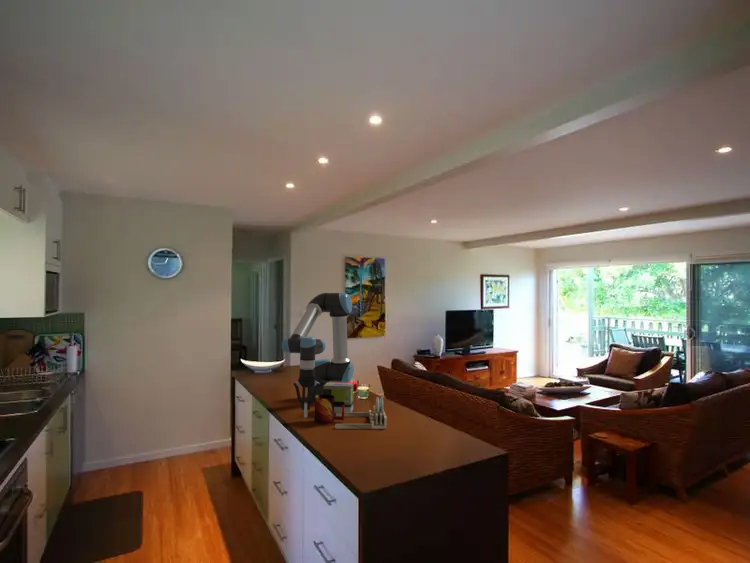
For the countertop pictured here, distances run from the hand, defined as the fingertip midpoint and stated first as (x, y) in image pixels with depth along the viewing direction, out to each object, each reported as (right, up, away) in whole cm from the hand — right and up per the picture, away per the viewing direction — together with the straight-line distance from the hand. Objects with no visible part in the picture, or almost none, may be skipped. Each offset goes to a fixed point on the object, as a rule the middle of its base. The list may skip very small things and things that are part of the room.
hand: (305, 416), depth 207 cm
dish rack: (+27, -3, 0) cm, 27 cm away
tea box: (+14, -4, +19) cm, 24 cm away
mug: (+11, -2, 0) cm, 11 cm away
